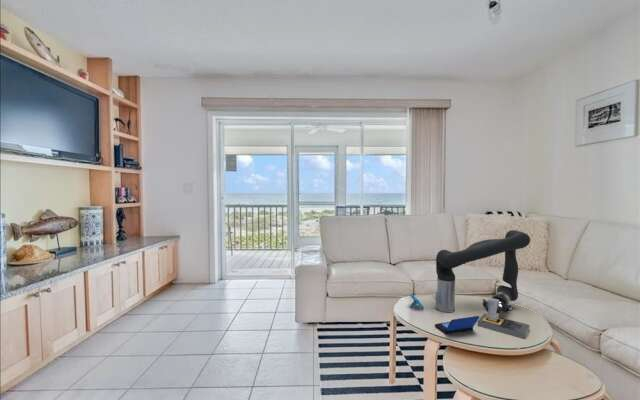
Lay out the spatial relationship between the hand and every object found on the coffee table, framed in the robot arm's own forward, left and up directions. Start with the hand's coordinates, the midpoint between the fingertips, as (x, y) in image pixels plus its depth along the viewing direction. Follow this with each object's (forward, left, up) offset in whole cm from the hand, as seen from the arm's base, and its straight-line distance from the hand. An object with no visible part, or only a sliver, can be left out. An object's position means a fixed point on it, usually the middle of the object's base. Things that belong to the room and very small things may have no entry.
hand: (492, 310), depth 154 cm
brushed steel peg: (0, +3, -7) cm, 8 cm away
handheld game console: (-12, -16, -9) cm, 22 cm away
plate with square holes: (+4, +3, -8) cm, 10 cm away
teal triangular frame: (-38, -2, -9) cm, 39 cm away
